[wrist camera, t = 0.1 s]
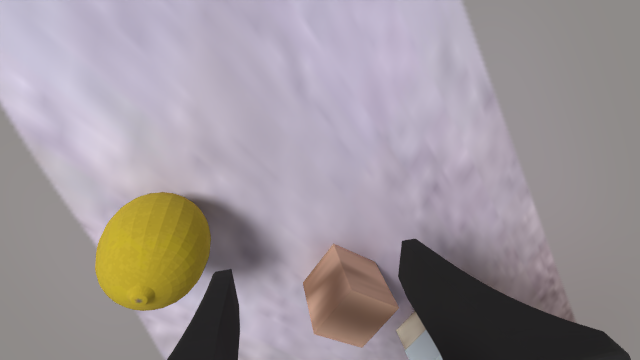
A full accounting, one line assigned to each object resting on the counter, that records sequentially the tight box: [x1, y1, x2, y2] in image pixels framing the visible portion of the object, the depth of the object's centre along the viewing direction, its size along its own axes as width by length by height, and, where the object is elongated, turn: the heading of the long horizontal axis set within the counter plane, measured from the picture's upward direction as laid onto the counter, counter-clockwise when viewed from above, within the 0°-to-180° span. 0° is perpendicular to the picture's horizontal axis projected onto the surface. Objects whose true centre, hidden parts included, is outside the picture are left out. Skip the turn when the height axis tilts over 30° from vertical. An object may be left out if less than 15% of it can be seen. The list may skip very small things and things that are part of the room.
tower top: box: [405, 330, 443, 360], centre depth 31 cm, size 8×8×2 cm
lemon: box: [95, 192, 211, 311], centre depth 18 cm, size 6×6×8 cm
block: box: [303, 244, 399, 348], centre depth 26 cm, size 4×4×5 cm
